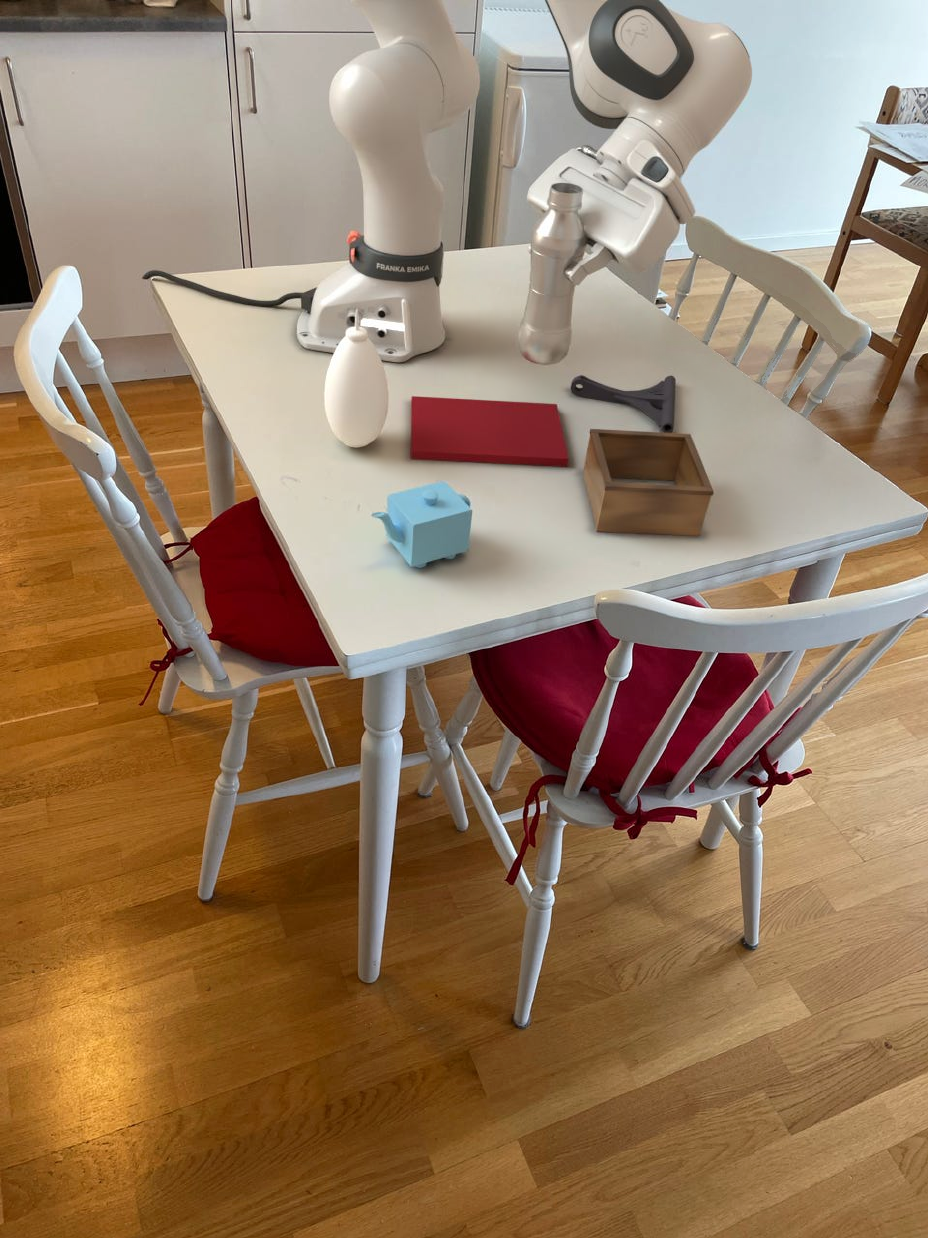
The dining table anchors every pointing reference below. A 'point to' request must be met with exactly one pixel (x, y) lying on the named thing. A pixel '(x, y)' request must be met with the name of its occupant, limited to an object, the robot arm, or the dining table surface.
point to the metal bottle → (552, 277)
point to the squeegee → (635, 398)
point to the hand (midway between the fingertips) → (551, 267)
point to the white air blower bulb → (356, 389)
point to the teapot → (427, 523)
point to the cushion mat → (487, 431)
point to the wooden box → (646, 503)
